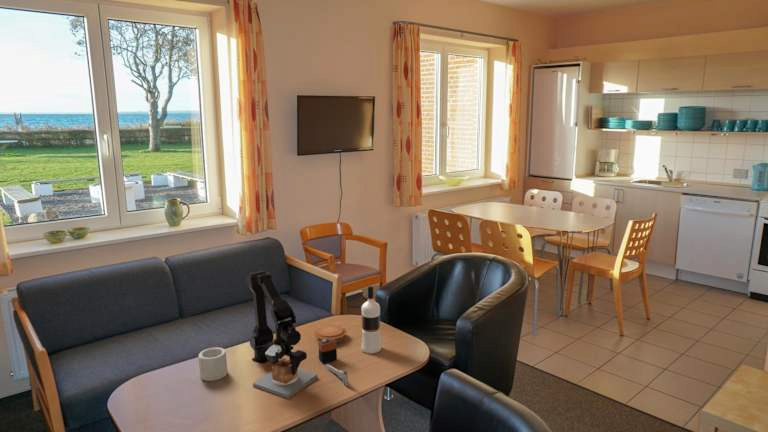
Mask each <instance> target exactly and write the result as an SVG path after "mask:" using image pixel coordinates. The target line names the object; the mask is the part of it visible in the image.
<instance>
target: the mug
mask: <svg viewBox="0 0 768 432" xmlns="http://www.w3.org/2000/svg"><path fill="white" fill-rule="evenodd" d="M197 356H198V367H199V377H200V379H201V380H202V381H205V382H214V381H218V380H221V379H224V377H226V375H227V374H228V361H227V351H226V349H224V348H222V347H217V346H216V347H209V348H205V349H203V350H201V351H200V352H199V354H198V355H197Z"/></svg>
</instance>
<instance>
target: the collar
mask: <svg viewBox="0 0 768 432" xmlns="http://www.w3.org/2000/svg"><path fill="white" fill-rule="evenodd" d="M289 362H291V361H290V359H287V358H281V359H279V362H277V363H275V364H274V365H273V364H272V365H271V371H272V377H273V380H275V381H279V382H282V383H285V384H287V383H288V382H290V381H291V380H293V379H294V378H296V377H297V376H298V371H297V372H296V374H295V375H294V376H293V374H292V365H291V364H290V363H289Z"/></svg>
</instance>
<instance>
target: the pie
mask: <svg viewBox="0 0 768 432" xmlns="http://www.w3.org/2000/svg"><path fill="white" fill-rule="evenodd" d="M346 334H347V329H346V327H345V328H344V327H342V326H339V325H335V324H328V325H322V326H320V327H318V328H317V329H315V330H314V331H313V335H314V337H315V338H316V339H317V341H318V342H319V341H321V340H322V339H329V338H333V339H334V340H335V341H336V344H338V343H340V342H341V341H342V340H343V338H344V337H345V336H346Z"/></svg>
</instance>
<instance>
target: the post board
mask: <svg viewBox="0 0 768 432" xmlns="http://www.w3.org/2000/svg"><path fill="white" fill-rule="evenodd" d="M297 371H298V376H297V377H296V378H294V379H293V380H291V381H290V382H288V383H287V384H285V383H282V382H279V381H275V380H273V377H272V370H271V371H270V372H268V373H266V374H265V375H263V376H261V377H260V378H258V379H256V380H255V381H253V382H252V387H254V388H256V389H260V390H262V391H265V392H268V393H271V394H273V395H276V396H280V397H283V398H285V399H290V398H291V397H292V396H294V395H295V394H297V393H298V392H300V391H301V390H303V389H304V388H305V387H307V386H308V385H309V384H311V383H312V382H314V381H315V380H316V379H318V373H314V372H311V371H309V370H308V371H307V370H305V369H301V368H299V367H298V369H297Z"/></svg>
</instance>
